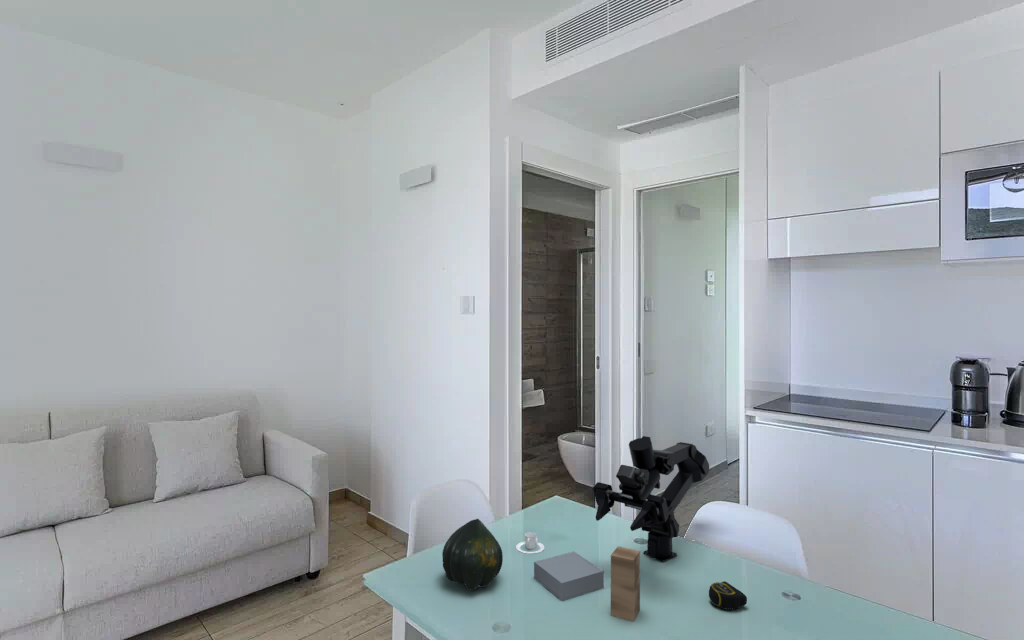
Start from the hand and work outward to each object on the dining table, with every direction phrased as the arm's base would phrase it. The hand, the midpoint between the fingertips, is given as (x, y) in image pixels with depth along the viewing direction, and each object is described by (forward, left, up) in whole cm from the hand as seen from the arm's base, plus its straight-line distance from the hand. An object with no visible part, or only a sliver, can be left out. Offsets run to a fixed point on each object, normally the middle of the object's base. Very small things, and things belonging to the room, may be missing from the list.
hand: (613, 524), depth 125 cm
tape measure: (-17, +19, -16) cm, 30 cm away
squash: (+24, -24, -16) cm, 38 cm away
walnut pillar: (+5, +8, -16) cm, 18 cm away
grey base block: (+6, -9, -16) cm, 19 cm away
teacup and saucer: (-2, -29, -16) cm, 34 cm away
